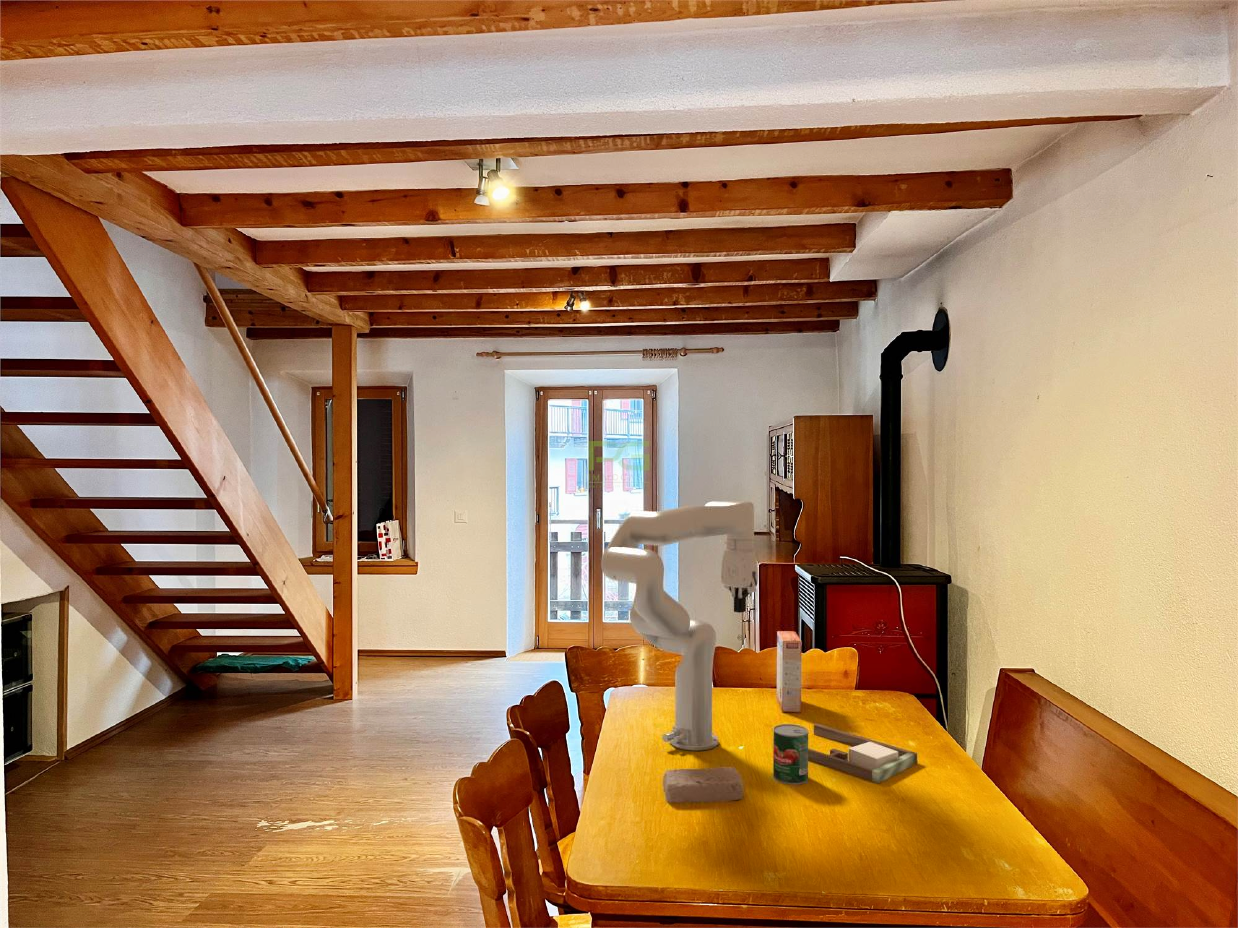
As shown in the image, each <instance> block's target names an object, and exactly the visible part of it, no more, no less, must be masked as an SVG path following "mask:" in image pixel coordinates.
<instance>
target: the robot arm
mask: <svg viewBox="0 0 1238 928" xmlns="http://www.w3.org/2000/svg"><path fill="white" fill-rule="evenodd" d="M724 535H726V540H724V544H725V546H726V549H723V554H722V559H721V571H720V582H721V584H722V585H724V589H727V590H728V591H729V592H730V594H731V597H732V598H733V612H735V613H745V612H747V611H746V610H747V598H748V597H749V595H750V594H751V593H755V592H757V588H756V587H757V585H758V581H759V576H758V575H759V573H758V569H759V568H758V560H757V555H756V551H755V536H754V535H755V507H754V504H753V502H751V501H748V500H744V501H743V500H732V501H730V500H712V501H710V502H707V503H706V504H705V505H685V506H682V507H681V506H680V507H675V508H671V509H666V510H664V509H663V510H657V511H655V510H634V511H632V512H631V513H630V514H628V516H627V517H625V519H624V520H623V521H622V522H621V524H620V525H619V527H618V529H616V531H615V534H614V535H613V537H612V538H611V540H610V542H609V543H608V545H607V546H606V548H605V549H604V551H603V553H602V556H601V560H600V568H601V572H602V573H603V575H604V576H605V577H607V579H610V580H612V581H617V582H624V583H630V584H635V586H636V587H635V595H634V598H633V603H632V605H631V607H630V610H629V619H630V620H629V621H630V624H631V626H632V627H633V629H634V630H635V633H637V634H639V635H640V636H642V638H644V639H645V640H646V641H647V642H649V643H650V644H651V645H653V646H654V647H656V648H657V649H659V650H662V651H665V652H669V653H673V654H677V655H681V656H682V658H681V660H680V662H679V663H678V665H677V666H676V669H675V675H674V679H675V680H674V681H675V686H674V688H675V690H674V693H675V695H674V696H675V697H674V699H675V701H674V703H675V706H674V708H675V709H674V710H675V711H674V713H675V714H674V716H675V717H674V720H675V721H674V723H675V725H672V730H671V731H670V732H667V733H664V734H662V741H663V742H664V743H667V742H669V744H670V745H672V746H673V747H675V748H678V749H681V750H684V751H685V750H686V751H695V752H696V751H706V750H711V749H713V748H715V747H717V746H718V744H719V737H718V736H717V735H716V734H715V733H713V662H714V655H715V649H716V646H717V645H716V643H717V633H716V630H715V629H714V627H713V625H711V624H710V623H708V622H706V621H704V620H702V619H697V618H692V617H690V615H689V613H688V611H687V609H685V607H684V606H683V605H682V604H681V603H679V602H678V601H676V599H674V597H672V596H671V595H670V594H668V592H667V591H666V590H665V589H664V576H665V575H664V574H665V567H664V566H665V565H664V561H663V559H662V558H661V556H660V555H659V554H658V553H657V552H656V551H653V550H652V549H647V548H639V546H640V545H647V546H657V547H658V546H659V547H661V546H668V545H672V544H676V543H680V542H684V541H688V540H693V539H701V538H709V537H717V536H724Z"/></svg>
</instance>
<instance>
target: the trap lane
mask: <svg viewBox="0 0 1238 928" xmlns="http://www.w3.org/2000/svg"><path fill="white" fill-rule="evenodd" d="M813 735H816V736H819V737H822V738H825V739H829V740H832V741H835V742H839V743H842V744H845V745H849V746H852V747H855V746H858V745H861V744H864V743H867V742H872V743H875V744H878V745H881V746H884V747H886V748H889V749H892V750H895V751H898V758H897V759H895V760H893V761H891V762H889V763H887V764H885V765H883V766H881V767H879V768H877V769H875V770H874V769H871V768H868V767H865V766H861V765H858V764H855V763H852V762H849V752H845V751H842V750H840V749H837V748H831V749H829V754H827V753H824V752H821V751H818V750H814V749H812V748H809V747H808V761H810V762H812V763H813V762H814V763H816V764H819V765H822V766H823V767H824V766H825V767H828V768H831V769H834V770H837V771H840V772H843V773H845V774H849V775H852V776H855V777H858V778H860V779H864V780H867V781H868V782H869V781H870V782H873V783H875V784H880V783H883V782H885V781H886V780H888V779H889V778H892V777H893V776H896V775H897V774H900V773H901V772H903V771H905V770H907V769H908V768H911V767H912V766H915V765H917V764H918V753H917V752H915V751H912V750H909V749H905V748H900V747H897V746H894V745H892V744H888V743H883V742H881V741H879V740H878V741H877V740H874V739H871V738H867V737H863V736H861V735H856V734H853V733H850V732H847V731H843V730H840V729H836V728H833V727H830V726H826V725H822V724H818V723H815V724H814V725H813Z"/></svg>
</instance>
